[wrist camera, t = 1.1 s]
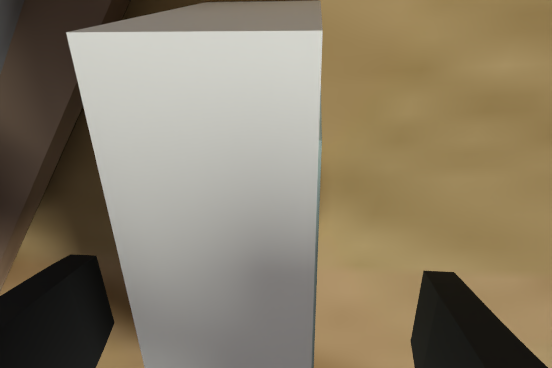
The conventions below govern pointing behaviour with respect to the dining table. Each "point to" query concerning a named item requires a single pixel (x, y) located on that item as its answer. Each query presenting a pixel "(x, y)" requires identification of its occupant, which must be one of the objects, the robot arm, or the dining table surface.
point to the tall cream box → (211, 176)
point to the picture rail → (37, 102)
